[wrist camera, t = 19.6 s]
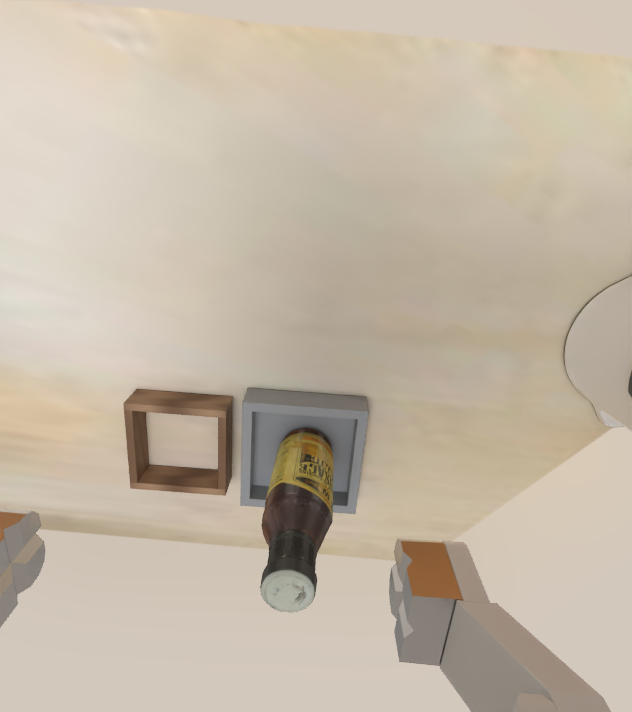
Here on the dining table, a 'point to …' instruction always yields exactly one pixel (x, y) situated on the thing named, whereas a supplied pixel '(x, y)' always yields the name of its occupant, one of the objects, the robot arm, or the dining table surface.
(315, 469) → the sauce bottle
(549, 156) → the dining table surface
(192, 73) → the dining table surface
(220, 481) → the walnut collar
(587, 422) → the dining table surface
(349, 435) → the grey tray
